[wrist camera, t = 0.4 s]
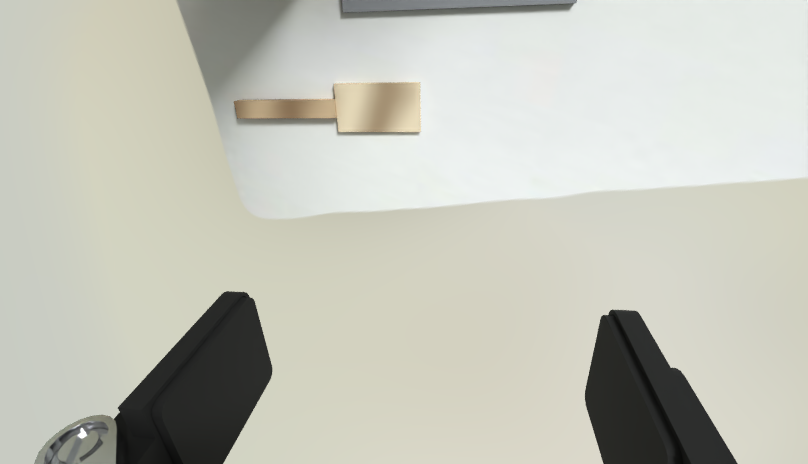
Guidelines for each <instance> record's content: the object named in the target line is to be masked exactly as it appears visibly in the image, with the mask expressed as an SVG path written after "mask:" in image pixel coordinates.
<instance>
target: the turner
mask: <svg viewBox="0 0 808 464" xmlns="http://www.w3.org/2000/svg"><path fill="white" fill-rule="evenodd" d="M334 92H335V99H278V100H237V101H234V104H235V109H236V114H237V118H337V121H338V131H339V132H421V102H420V82H399V83H335V84H334Z"/></svg>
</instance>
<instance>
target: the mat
mask: <svg viewBox="0 0 808 464" xmlns="http://www.w3.org/2000/svg"><path fill="white" fill-rule="evenodd" d="M576 2H577V0H342V7H343V12H345V13H346V12H371V11H396V10H421V9H446V8H471V7H496V6H520V5H545V4H570V3H576Z"/></svg>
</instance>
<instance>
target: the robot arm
mask: <svg viewBox="0 0 808 464" xmlns="http://www.w3.org/2000/svg"><path fill="white" fill-rule="evenodd" d="M271 375H272V365H271V361H270V357H269V354H268V350H267V346H266V342H265V339H264V335H263V331H262V327H261V324H260V320H259V316H258V312H257V309H256V305H255V301H254V299H252V298H250V297H249V295H248V294H247V293H245V292H229V291H227V292H224V293H223V294H222V295H221V296H220V297H219V298H218V299H217V300H216V301H215V302H214V303H213V305H212V306H211V307H210V308H209V309H208V310H207V311H206V312H205V313H204V314H203V315H202V317H201V318H200V319H199V320H198V321H197V322H196V323H195V324H194V325H193V326H192V327H191V328H190V330H189V331H188V332H187V333H186V334H185V335H184V336H183V337H182V338H181V339H180V340H179V342H178V343H177V344H176V345H175V346H174V347H173V348H172V349H171V350H170V351H169V352H168V354H167V355H166V356H165V357H164V358H163V359H162V360H161V361H160V362H159V363H158V364H157V366H156V367H155V368H154V369H153V370H152V371H151V372H150V373H149V374H148V375H147V376H146V378H145V379H144V380H143V381H142V382H141V383H140V384H139V385H138V386H137V387H136V388H135V390H134V391H133V392H132V393H131V394H130V395H129V396H128V397H127V398H126V400H124V402H123V403H122V404H121V405H120V406H119V407H118V409H119V411H120V413H119V414H118V415H117V416H116V417H115V418H114V419H112V418H111V417H110V416H105V415H96V416H90V417H87V418H84V419H81V420H78V421H76V422H74V423H72V424H70V425H68V426H67V427H65V428H64V429H62V430H61V431H59V432H58V433H56V434H55V435H54V436H53V437H52V438H51V439H50V440H49V441H48V442H47V443H46V444H45V445H44V446H43V448H42V449H41V450H40V452H39V453H38V456H37V458H36V460H35V464H223V463H224V461H225V459H226V457H227V456H228V454H229V452H230V450H231V449H232V447H233V445H234V443H235V441H236V440H237V438H238V436H239V434H240V432H241V431H242V429H243V427H244V425H245V424H246V422H247V420H248V418H249V416H250V415H251V413H252V411H253V409H254V408H255V406H256V404H257V402H258V400H259V399H260V397H261V395H262V393H263V392H264V390H265V388H266V386H267V384H268V383H269V381H270V379H271ZM585 401H586V407H587V410H588V414H589V417H590V420H591V423H592V426H593V430H594V433H595V437H596V440H597V443H598V446H599V450H600V453H601V457H602V460H603V463H604V464H737V462H736V460H735V459H734V457H733V455H732V454H731V452H730V450H729V449H728V447H727V446H726V444H725V442H724V441H723V439H722V437H721V436H720V434H719V432H718V431H717V429H716V427H715V426H714V424H713V422H712V421H711V419H710V417H709V416H708V414H707V413H706V411H705V409H704V407H703V406H702V404H701V403H700V401H699V399H698V398H697V396H696V394H695V393H694V391H693V389H692V388H691V386H690V384H689V383H688V381H687V380H686V378H685V376H684V375H683V374H682V372H681V371H680V370H678V369H676V368H670V366H669V364H668V362H667V361H666V359H665V357H664V355H663V354H662V352H661V350H660V349H659V347H658V345H657V343H656V342H655V340H654V338H653V337H652V335H651V333H650V331H649V330H648V328H647V326H646V324H645V323H644V321H643V319H642V318H641V316H640V314H639V313H638V312H637V311H629V310H628V311H627V310H611V311H610V312H609V315H603V316H602V317H601V320H600V324H599V329H598V334H597V339H596V343H595V348H594V352H593V357H592V362H591V366H590V371H589V376H588V380H587V385H586V390H585Z"/></svg>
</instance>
